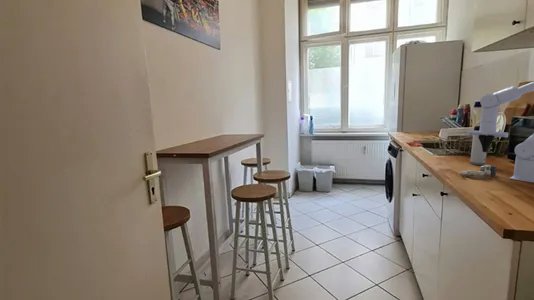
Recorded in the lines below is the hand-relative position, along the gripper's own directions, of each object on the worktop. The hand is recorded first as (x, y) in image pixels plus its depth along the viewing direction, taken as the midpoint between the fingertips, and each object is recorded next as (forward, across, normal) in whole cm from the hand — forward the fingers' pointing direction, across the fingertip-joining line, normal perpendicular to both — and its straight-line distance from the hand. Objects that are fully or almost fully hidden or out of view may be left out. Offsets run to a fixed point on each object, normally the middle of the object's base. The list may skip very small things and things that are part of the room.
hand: (484, 151), depth 130 cm
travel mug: (+10, +6, -18) cm, 22 cm away
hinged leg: (+8, -2, +5) cm, 10 cm away
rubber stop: (+9, -4, +3) cm, 11 cm away
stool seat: (+9, +1, +10) cm, 14 cm away
